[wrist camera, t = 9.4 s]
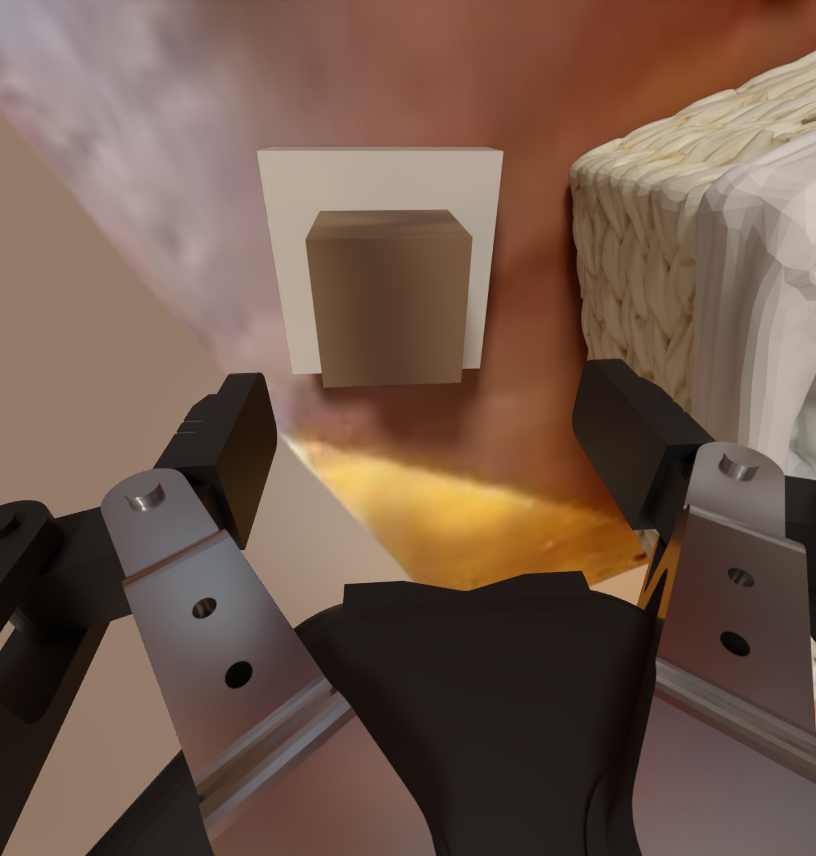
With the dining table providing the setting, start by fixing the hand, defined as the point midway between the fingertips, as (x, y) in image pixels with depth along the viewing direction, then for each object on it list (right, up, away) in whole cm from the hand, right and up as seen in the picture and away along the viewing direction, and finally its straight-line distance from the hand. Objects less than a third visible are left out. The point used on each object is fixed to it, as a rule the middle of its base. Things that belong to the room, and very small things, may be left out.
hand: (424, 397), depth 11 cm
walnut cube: (-1, +6, +7) cm, 9 cm away
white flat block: (-2, +7, +10) cm, 12 cm away
